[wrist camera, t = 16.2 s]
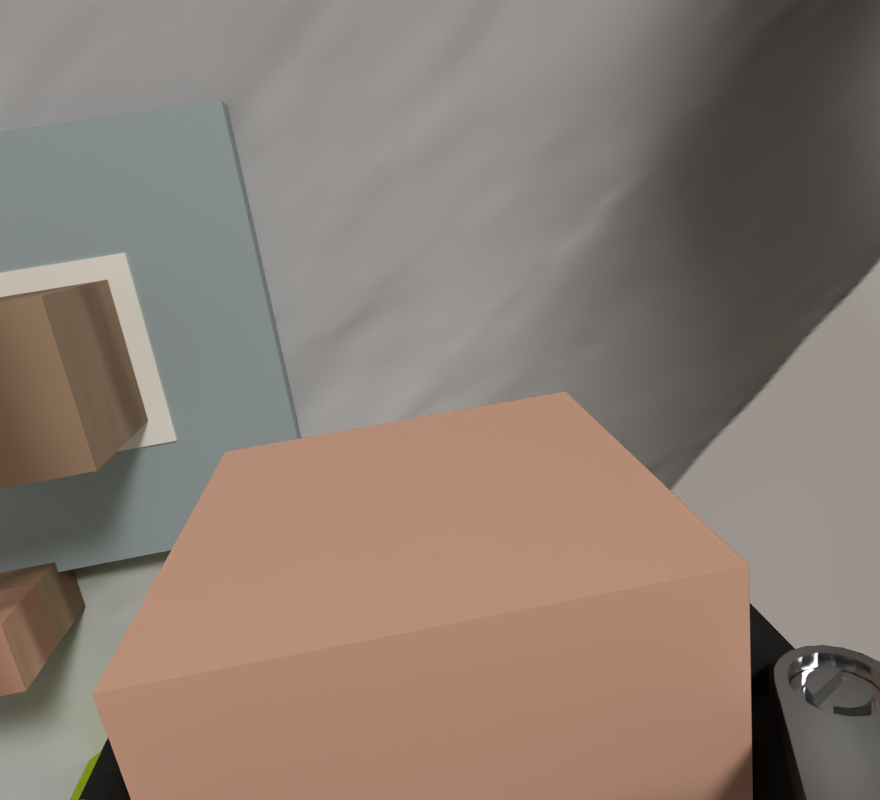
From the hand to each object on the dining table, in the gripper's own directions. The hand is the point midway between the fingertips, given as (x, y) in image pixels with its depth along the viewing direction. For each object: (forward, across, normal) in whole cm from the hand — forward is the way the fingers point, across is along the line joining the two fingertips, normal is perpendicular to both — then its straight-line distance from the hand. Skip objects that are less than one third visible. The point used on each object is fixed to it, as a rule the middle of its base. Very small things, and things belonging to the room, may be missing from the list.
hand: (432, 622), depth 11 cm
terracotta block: (+1, 0, 0) cm, 1 cm away
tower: (+20, +18, +8) cm, 28 cm away
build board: (+20, +14, -2) cm, 24 cm away
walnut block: (+19, +13, -3) cm, 23 cm away
